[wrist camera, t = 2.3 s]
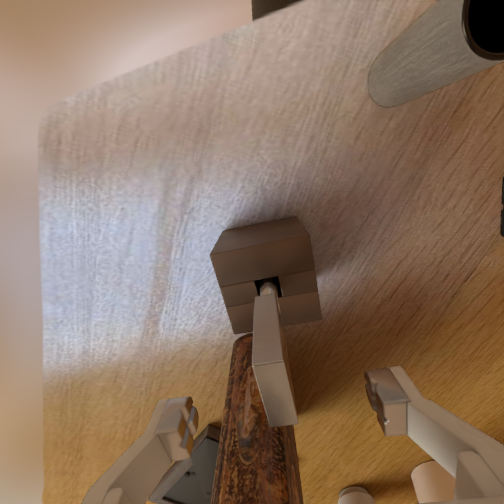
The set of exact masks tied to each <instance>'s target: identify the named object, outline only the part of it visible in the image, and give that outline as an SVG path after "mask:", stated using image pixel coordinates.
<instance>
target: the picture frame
mask: <svg viewBox="0 0 504 504" xmlns="http://www.w3.org/2000/svg"><path fill="white" fill-rule="evenodd" d="M220 434H221V429H219V428H217V427H214V426H212V425H210V424H208V426H207V427H206V428H205V429H204V430H203V431H202V432H201V434H200V435H199V436H198V437H197V438H196V439H195V440H194V445H193V449H192V453H191V457H190V459H185V460H179V461H176V462H175V463H174V464H173V465H172V466H171V468H170V469H169V470H168V471H167V472H166V473H165V474H164V476H163V477H162V479H161V480H160V482H159V483H158V485H157V486H156V488H155V489H154V491H153V492H152V494H151V495H150V497H149V499H148V500H149V501H151V502H154V503H157V504H210V503H211V496H212V490H213V483H214V476H215V469H216V462H217V455H218V448H219V441H220Z"/></svg>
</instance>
